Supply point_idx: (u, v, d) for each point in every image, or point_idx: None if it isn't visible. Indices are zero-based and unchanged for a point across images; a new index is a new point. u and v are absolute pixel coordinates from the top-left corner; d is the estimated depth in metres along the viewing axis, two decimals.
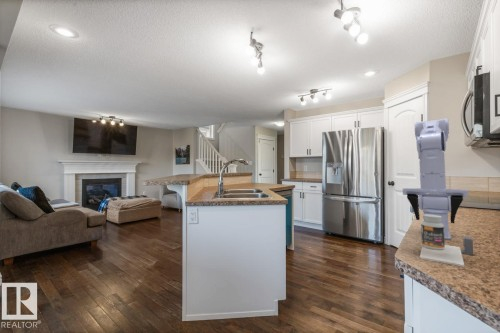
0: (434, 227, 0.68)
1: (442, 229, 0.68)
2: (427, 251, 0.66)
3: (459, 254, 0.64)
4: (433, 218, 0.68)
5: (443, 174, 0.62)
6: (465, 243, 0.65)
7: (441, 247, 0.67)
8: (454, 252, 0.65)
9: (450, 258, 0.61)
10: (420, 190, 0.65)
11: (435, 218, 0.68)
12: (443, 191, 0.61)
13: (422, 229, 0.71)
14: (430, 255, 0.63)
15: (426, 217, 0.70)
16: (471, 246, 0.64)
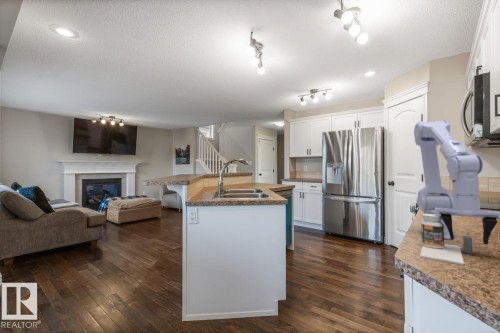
0: (434, 227, 0.69)
1: (442, 228, 0.69)
2: (427, 250, 0.67)
3: (459, 253, 0.65)
4: (433, 217, 0.70)
5: (477, 196, 0.64)
6: (465, 242, 0.66)
7: (441, 246, 0.68)
8: (454, 251, 0.66)
9: (450, 257, 0.62)
10: (454, 211, 0.66)
11: (435, 217, 0.69)
12: (478, 213, 0.63)
13: (422, 228, 0.72)
14: (430, 254, 0.64)
15: (426, 216, 0.71)
16: (471, 245, 0.65)
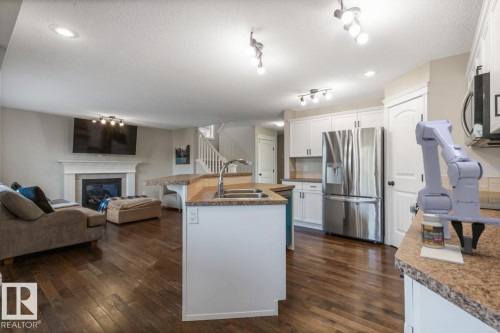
0: (434, 227, 0.69)
1: (442, 228, 0.69)
2: (427, 250, 0.68)
3: (459, 253, 0.65)
4: (433, 217, 0.70)
5: (478, 203, 0.64)
6: (465, 242, 0.66)
7: (441, 246, 0.68)
8: (454, 251, 0.66)
9: (450, 257, 0.62)
10: (454, 217, 0.66)
11: (435, 217, 0.69)
12: (478, 220, 0.63)
13: (423, 228, 0.72)
14: (430, 254, 0.64)
15: (426, 216, 0.71)
16: (470, 245, 0.65)
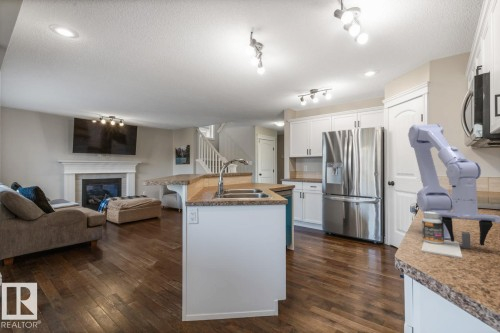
0: (434, 223, 0.73)
1: (441, 225, 0.73)
2: (428, 245, 0.72)
3: (458, 248, 0.69)
4: (433, 214, 0.74)
5: (475, 200, 0.68)
6: (463, 238, 0.71)
7: (441, 241, 0.73)
8: (453, 246, 0.71)
9: (449, 251, 0.66)
10: (453, 214, 0.71)
11: (435, 214, 0.74)
12: (476, 216, 0.67)
13: (423, 225, 0.76)
14: (431, 248, 0.69)
15: (426, 214, 0.76)
16: (469, 240, 0.70)
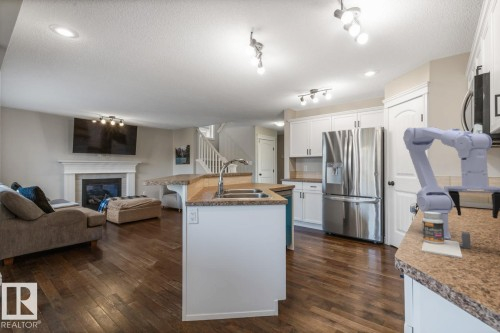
0: (434, 223, 0.73)
1: (442, 225, 0.73)
2: (428, 245, 0.72)
3: (458, 248, 0.69)
4: (433, 215, 0.74)
5: (486, 172, 0.66)
6: (463, 238, 0.71)
7: (441, 241, 0.73)
8: (453, 246, 0.71)
9: (449, 251, 0.66)
10: (463, 187, 0.69)
11: (435, 215, 0.74)
12: (486, 188, 0.65)
13: (424, 225, 0.76)
14: (431, 248, 0.69)
15: (427, 214, 0.75)
16: (469, 240, 0.70)
